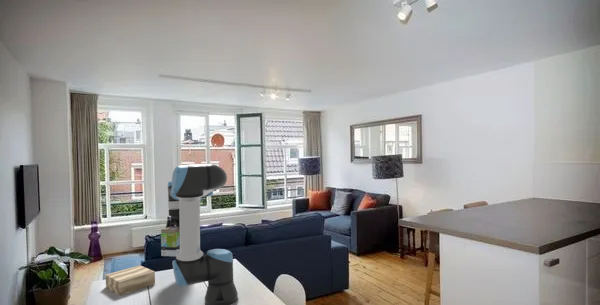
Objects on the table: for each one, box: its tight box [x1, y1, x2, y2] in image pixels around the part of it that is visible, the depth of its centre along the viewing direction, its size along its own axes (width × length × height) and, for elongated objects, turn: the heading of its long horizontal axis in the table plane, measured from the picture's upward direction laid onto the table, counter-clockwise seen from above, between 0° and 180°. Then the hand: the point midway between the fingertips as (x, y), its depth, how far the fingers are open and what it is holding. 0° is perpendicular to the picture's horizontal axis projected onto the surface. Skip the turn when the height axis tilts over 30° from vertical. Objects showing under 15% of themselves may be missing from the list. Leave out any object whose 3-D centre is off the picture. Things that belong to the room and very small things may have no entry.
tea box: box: [160, 225, 180, 257], centre depth 181 cm, size 15×10×15 cm, turn 167°
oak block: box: [105, 264, 156, 296], centre depth 173 cm, size 18×18×7 cm
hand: (176, 246), depth 181 cm, fingers closed on tea box, 12 cm apart
